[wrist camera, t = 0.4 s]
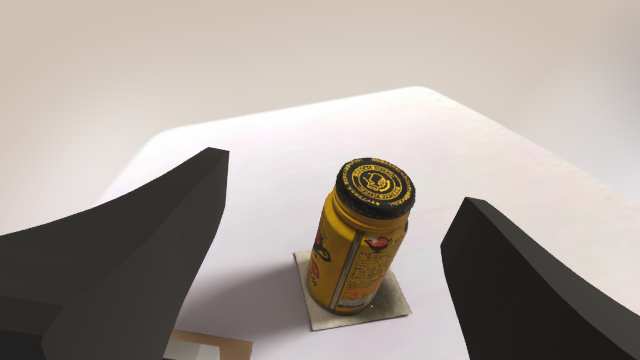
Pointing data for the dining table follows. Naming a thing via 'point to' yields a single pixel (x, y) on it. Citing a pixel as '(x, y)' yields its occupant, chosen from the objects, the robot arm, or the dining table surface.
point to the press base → (205, 347)
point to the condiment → (358, 246)
